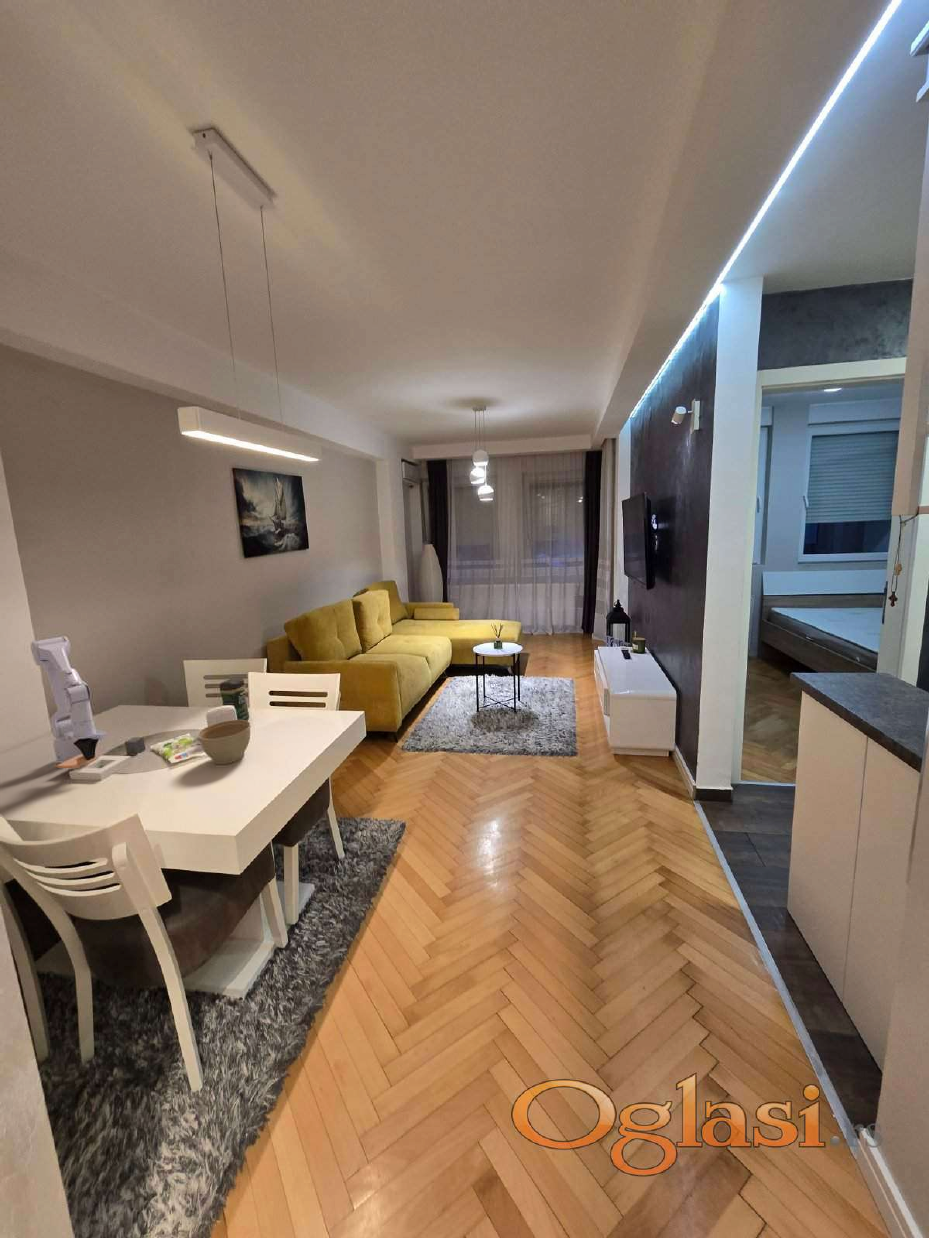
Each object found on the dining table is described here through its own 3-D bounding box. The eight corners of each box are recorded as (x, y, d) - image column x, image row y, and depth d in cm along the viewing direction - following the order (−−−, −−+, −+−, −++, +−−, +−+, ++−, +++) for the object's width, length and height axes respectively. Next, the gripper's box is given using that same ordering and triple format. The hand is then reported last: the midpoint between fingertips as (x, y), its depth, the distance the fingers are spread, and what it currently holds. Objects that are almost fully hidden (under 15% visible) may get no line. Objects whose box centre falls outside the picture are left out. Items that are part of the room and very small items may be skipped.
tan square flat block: (57, 767, 166) (55, 759, 166) (79, 756, 174) (78, 749, 173) (77, 768, 165) (75, 760, 164) (99, 757, 172) (97, 749, 172)
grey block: (127, 754, 180) (124, 741, 179) (136, 750, 184) (133, 737, 183) (136, 755, 179) (134, 742, 178) (145, 750, 183) (143, 737, 182)
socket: (70, 779, 163) (69, 771, 163) (103, 762, 175) (101, 755, 175) (101, 780, 161) (100, 772, 161) (132, 762, 173) (131, 756, 172)
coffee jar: (239, 726, 200) (232, 682, 197) (221, 726, 201) (214, 682, 198) (253, 717, 210) (246, 675, 206) (236, 717, 211) (229, 675, 208)
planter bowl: (195, 761, 171) (190, 731, 169) (242, 744, 182) (238, 716, 180) (213, 774, 160) (208, 742, 158) (262, 756, 171) (258, 726, 169)
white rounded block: (238, 732, 195) (233, 701, 192) (240, 735, 191) (235, 704, 189) (209, 739, 189) (204, 708, 187) (210, 743, 186) (205, 711, 183)
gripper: (52, 725, 163) (61, 763, 166) (89, 725, 160) (97, 764, 163) (72, 717, 170) (80, 754, 172) (108, 717, 167) (116, 755, 170)
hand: (90, 758), depth 168 cm, fingers closed
